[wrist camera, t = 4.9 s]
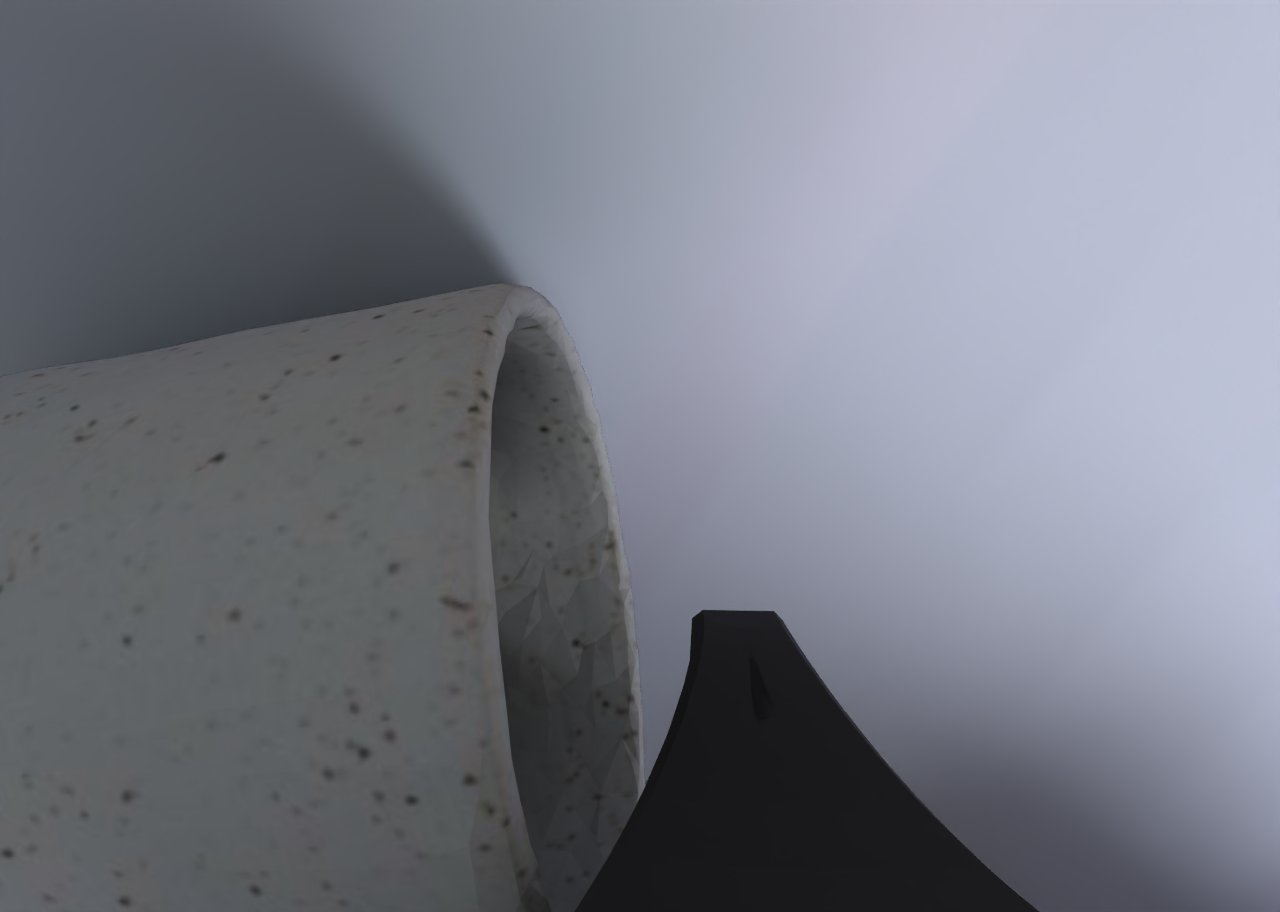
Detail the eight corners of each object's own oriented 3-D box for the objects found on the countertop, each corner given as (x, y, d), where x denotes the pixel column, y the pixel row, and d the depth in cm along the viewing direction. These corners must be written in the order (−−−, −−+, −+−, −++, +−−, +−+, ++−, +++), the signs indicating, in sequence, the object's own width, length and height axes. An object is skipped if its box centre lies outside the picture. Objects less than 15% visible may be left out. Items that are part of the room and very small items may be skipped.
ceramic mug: (-35, 320, 13) (-740, 706, 7) (551, 200, 13) (449, 495, 6) (254, 858, 18) (22, 1408, 11) (693, 794, 17) (729, 1341, 11)
